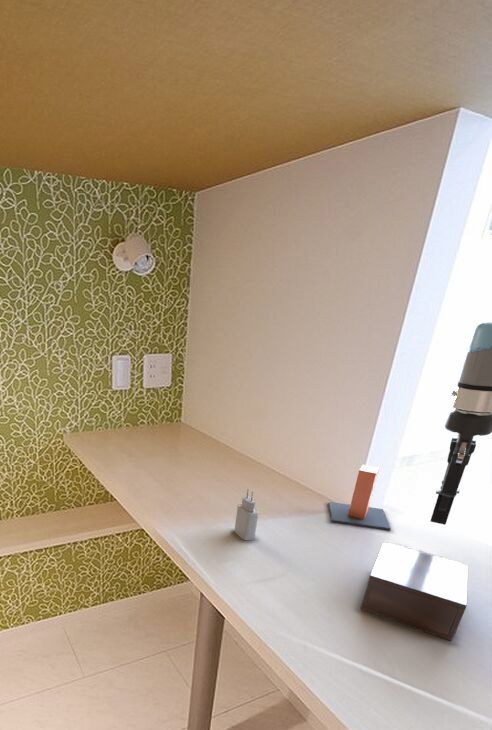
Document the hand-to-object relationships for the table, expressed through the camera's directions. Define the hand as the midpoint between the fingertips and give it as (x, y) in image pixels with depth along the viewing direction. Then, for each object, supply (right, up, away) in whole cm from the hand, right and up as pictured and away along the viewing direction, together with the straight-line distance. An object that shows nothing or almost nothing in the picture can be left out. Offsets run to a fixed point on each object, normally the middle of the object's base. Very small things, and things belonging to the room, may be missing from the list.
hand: (438, 521), depth 92 cm
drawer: (-9, -13, -5) cm, 16 cm away
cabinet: (-12, -16, -9) cm, 21 cm away
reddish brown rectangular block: (-5, +1, +25) cm, 26 cm away
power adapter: (-38, -4, +15) cm, 41 cm away
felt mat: (-5, +1, +25) cm, 26 cm away
